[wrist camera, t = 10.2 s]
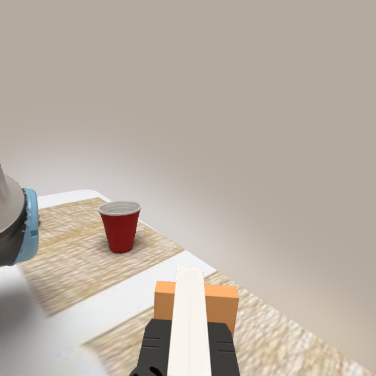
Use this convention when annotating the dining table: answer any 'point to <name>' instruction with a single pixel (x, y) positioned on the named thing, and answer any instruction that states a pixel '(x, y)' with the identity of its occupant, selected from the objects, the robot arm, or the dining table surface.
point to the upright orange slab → (214, 298)
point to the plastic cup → (120, 223)
